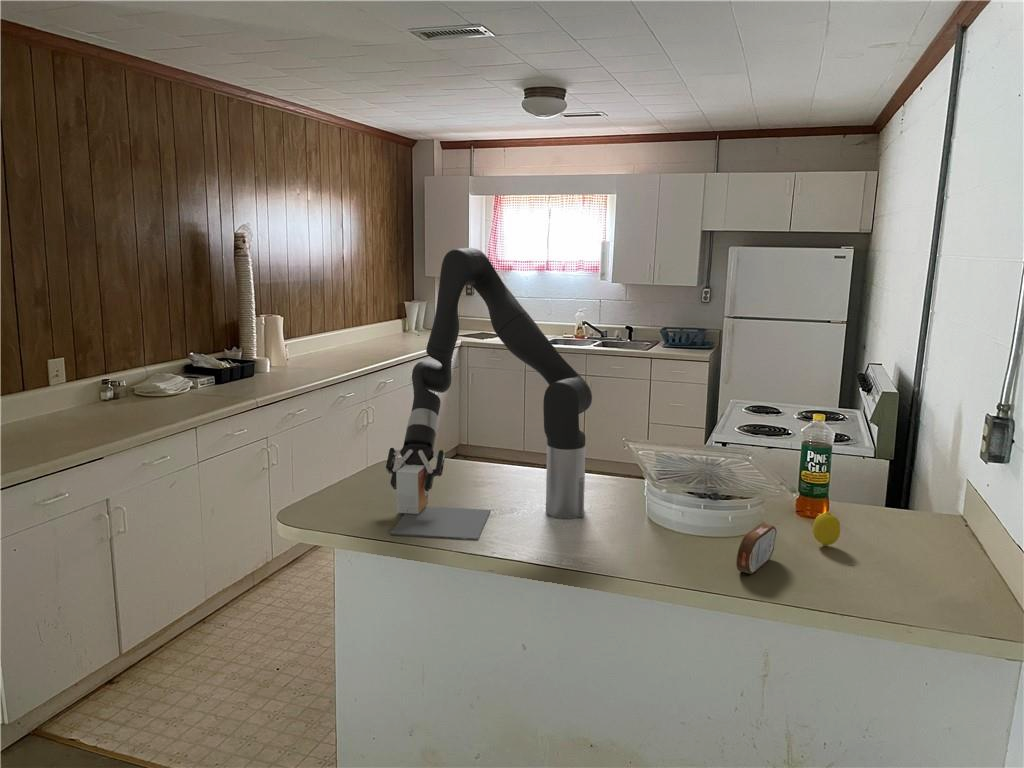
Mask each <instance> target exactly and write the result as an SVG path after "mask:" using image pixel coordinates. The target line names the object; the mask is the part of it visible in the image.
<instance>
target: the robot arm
mask: <svg viewBox="0 0 1024 768" xmlns="http://www.w3.org/2000/svg"><path fill="white" fill-rule="evenodd" d="M465 286H471V287H472V288H473V289H474V290H475V291H476V292H477V294H479V296H480V297H481V298H482V300H483V301H484V302H485V304H486V307H487V311H488V314H489V318H490V323H491V326H492V328H493V331H494V332H495V334H496V336H497V337H498V338H499V339H500V341H501V342H502V343H503V345H504V346H505V347H506V348H507V350H509V352H510V353H511V354H512V355H513V356H515V357H516V358H518V359H519V360H520V361H522V362H523V363H524V364H526V365H527V366H529V367H530V368H532V369H533V370H535V371H536V372H537V373H538V374H540V375H541V377H543V379H544V380H545V381H546V383H547V384H548V386H547V388H546V389H545V391H544V395H543V402H542V404H543V406H542V407H543V409H542V410H543V430H544V434H545V436H546V471H545V472H546V475H545V476H546V477H545V478H546V481H545V483H546V485H545V486H546V488H545V512H546V514H547V515H548V516H550V517H553V518H555V519H556V518H557V519H575V518H583V517H584V513H585V490H586V489H585V488H586V487H585V485H586V484H585V480H586V473H585V472H586V470H585V469H586V467H585V466H586V441H587V440H586V434H585V433H584V432H583V431H582V430H581V429H580V417H579V416H580V415H581V414H582V413H584V412H586V411H587V410H588V409H590V407H591V405H592V401H593V395H592V391H591V390H592V389H591V388H590V386H589V384H588V383H587V381H585V379H584V378H583V377H582V376H581V375H580V374H579V373H578V372H577V371H576V370H575V369H574V368H573V367H572V366H571V365H570V364H569V363H568V362H567V361H566V360H565V358H563V357H562V355H561V354H560V353H559V352H558V350H557V349H556V347H555V346H554V345H553V343H552V342H550V340H549V339H548V337H547V336H546V335H545V334H544V332H543V331H542V330H541V329H540V327H539V326H538V324H537V323H536V322H535V321H534V319H533V318H532V317H531V315H529V312H527V311H526V310H525V309H524V307H523V306H522V305H521V303H520V302H519V301H518V300H517V299H516V297H515V296H514V295H513V293H512V292H511V291H510V290H509V288H508V287H507V286H506V284H505V283H504V282H503V280H502V278H501V277H500V275H499V273H498V272H497V271H496V269H495V267H494V266H493V264H492V262H491V261H490V260H489V258H488V256H487V255H486V254H485V253H484V252H483V251H481V250H480V249H478V248H476V247H461V248H454V249H451V250H449V251H448V252H447V253H446V254H445V255H444V258H443V260H442V263H441V268H440V276H439V285H438V292H437V293H438V294H437V300H436V301H437V302H436V308H435V309H436V310H435V315H434V318H433V319H434V320H433V324H432V328H431V331H430V334H429V338H428V342H427V346H426V349H425V350H426V354H427V355H428V357H430V358H431V359H433V360H435V361H437V362H439V364H441V365H438V364H435V363H432V362H427V361H419V362H417V363H416V364H415V365H414V366H413V369H412V371H411V380H412V390H413V400H412V401H413V402H412V407H411V411H410V412H411V413H410V415H409V418H408V422H407V426H406V432H405V436H404V441H403V445H402V448H400V449H395V448H394V447H391V448H389V451H388V456H387V461H386V465H385V468H386V471H387V472H388V474H390V475H391V478H390V483H389V484H390V485H391V487H392V489H393V490H397V482H396V472H397V471H398V470H400V469H401V468H402V467H403V466H404V465H405V464H407V465H424V466H425V468H426V470H427V472H428V474H427V475H426V481H425V487H424V488H425V491H428V492H429V491H430V490H431V489H432V488H433V484H434V478H435V477H437V476H438V477H441V476H443V471H444V464H445V461H446V460H445V459H446V455H445V452H444V450H442V449H440V450H438V451H434V449H435V448H434V447H435V441H436V435H437V433H438V426H439V425H438V424H439V422H438V421H439V416H440V415H439V414H440V408H441V403H442V402H441V398H440V396H439V395H437V394H436V393H442V394H443V393H446V392H447V391H448V390H449V389H450V387H451V385H452V375H453V374H452V361H453V360H452V359H453V355H454V351H455V347H456V344H457V341H458V337H459V333H460V320H459V319H460V318H459V303H460V302H459V301H460V298H461V294H462V292H463V290H464V288H465ZM435 392H436V393H435ZM399 456H401V458H400V459H399V460H398V462H397V463H396V465H395V462H396V460H397V459H398V458H399ZM433 458H435V460H436V465H435V468H434V469H433V468H432V467H431V464H430V461H431V460H433Z"/></svg>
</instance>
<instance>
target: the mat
mask: <svg viewBox="0 0 1024 768" xmlns="http://www.w3.org/2000/svg"><path fill="white" fill-rule="evenodd" d="M490 511H491V509H482V508H481V509H480V508H467V507H466V508H464V507H463V508H461V507H460V508H459V507H445V506H443V507H442V506H428V505H426V507H425V508H424V509H423V510H422V511H421V512H420V513H419V514H407V513H403V516H402V517H401V518H400V519H399V521H398V522H397V524H396V525H395V526H394V527H393V529H392V531H391V532H390V535H391V536H401V537H402V536H405V537H418V538H419V537H420V538H422V537H423V538H435V537H446V538H445V539H451V538H467V539H466V540H468V539H478V538H480V537H479V536H481V534H482V532H481V531H483V530H482V529H484V528H483V527H485V525H486V523H487V521H488V519H487V518H489V516H490V514H491V512H490ZM447 537H448V538H447ZM478 540H479V539H478Z"/></svg>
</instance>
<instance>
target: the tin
mask: <svg viewBox="0 0 1024 768" xmlns="http://www.w3.org/2000/svg"><path fill="white" fill-rule="evenodd" d="M776 535H777V528H776V527H775V526H774V525H772V524H768V523H765V521H762V522H760V523H759V524H757V525H756V526H754V527H753V528H751V529H750V530H749V531H747V532H746V533H745V535H744V536H743V537H742V539H741V541H740V543H739V547H738V550H737V555H736V562H735V563H736V569H737V571H739V572H742V573H746V574H748V575H753V574H755V573H756V572H757V571H758V570H760V567H761V568H762V567H763V566H765V565H766V564H767V563H768V562H769V561H770V558H771V557H772V554H773V553H774V550H775V542H776ZM767 561H768V562H767ZM766 562H767V563H766ZM754 572H755V573H754Z"/></svg>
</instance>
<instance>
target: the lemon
mask: <svg viewBox="0 0 1024 768" xmlns="http://www.w3.org/2000/svg"><path fill="white" fill-rule="evenodd" d="M813 521H814V522H813V525H812V533H813V537H814V538H815V540H816V541H817V542H818V543H819V544H821V545H822V546H823V547H828V546H830V545H833V544H835V543H836V542H838V539H839V538H840V535H841V524H840V521H839V519H838V518H837V516H835V515H834V514H833V513H831V512H830V511H826V512H823V513H820V514H818V515H817V516H816V518H815V519H814V520H813Z"/></svg>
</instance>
